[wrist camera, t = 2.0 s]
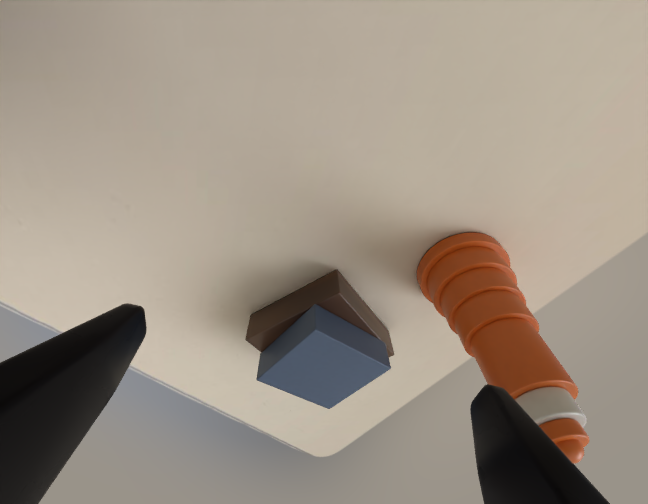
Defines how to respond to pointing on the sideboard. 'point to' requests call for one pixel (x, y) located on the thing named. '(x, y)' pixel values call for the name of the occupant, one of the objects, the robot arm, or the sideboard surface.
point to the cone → (502, 333)
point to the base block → (322, 292)
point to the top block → (322, 358)
